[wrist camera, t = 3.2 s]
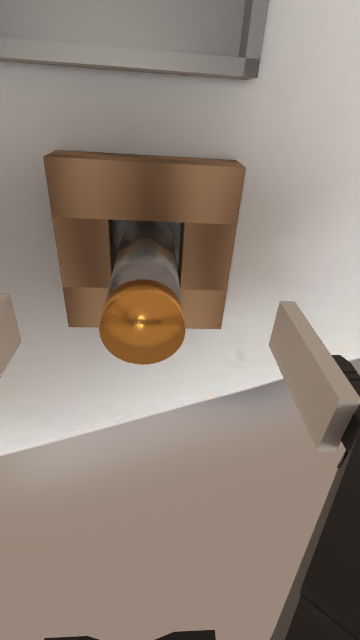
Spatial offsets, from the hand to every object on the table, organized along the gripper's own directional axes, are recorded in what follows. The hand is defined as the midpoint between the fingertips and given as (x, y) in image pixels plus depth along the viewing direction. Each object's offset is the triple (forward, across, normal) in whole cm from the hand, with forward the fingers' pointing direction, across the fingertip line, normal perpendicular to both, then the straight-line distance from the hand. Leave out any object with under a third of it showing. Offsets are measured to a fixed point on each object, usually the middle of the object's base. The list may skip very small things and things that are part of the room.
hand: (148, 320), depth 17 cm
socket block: (+11, 0, 0) cm, 11 cm away
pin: (+11, 0, 0) cm, 11 cm away
